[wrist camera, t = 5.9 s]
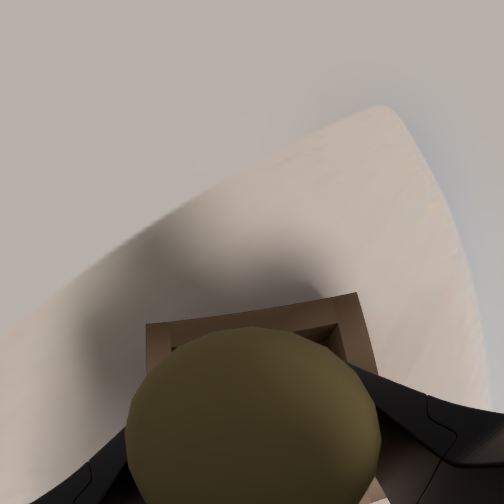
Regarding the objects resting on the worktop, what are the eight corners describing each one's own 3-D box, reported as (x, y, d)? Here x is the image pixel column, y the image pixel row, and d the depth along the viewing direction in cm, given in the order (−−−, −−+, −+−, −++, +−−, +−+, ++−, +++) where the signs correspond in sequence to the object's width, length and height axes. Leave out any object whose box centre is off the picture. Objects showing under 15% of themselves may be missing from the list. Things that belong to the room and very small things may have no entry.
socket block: (371, 478, 13) (397, 493, 9) (189, 503, 13) (166, 524, 9) (340, 317, 19) (356, 292, 15) (172, 343, 19) (145, 324, 15)
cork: (322, 370, 14) (408, 274, 5) (323, 475, 11) (413, 568, 1) (210, 370, 14) (100, 279, 5) (206, 473, 11) (82, 549, 2)
